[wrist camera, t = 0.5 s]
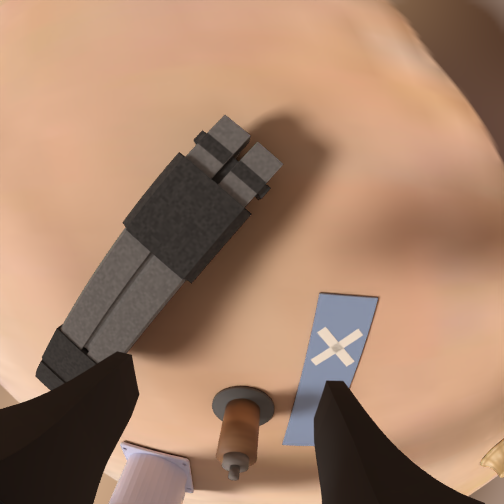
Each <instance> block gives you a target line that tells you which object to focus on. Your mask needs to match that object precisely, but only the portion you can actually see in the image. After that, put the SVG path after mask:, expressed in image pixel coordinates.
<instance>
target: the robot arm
mask: <svg viewBox="0 0 504 504" xmlns="http://www.w3.org/2000/svg"><path fill="white" fill-rule="evenodd" d="M138 397H139V391H138V386H137V381H136V376H135V370H134V365H133V359H132V355H130V354H126V353H122V352H118V351H117V352H115V353H113V354H112V355H110V356H108V357H107V358H105V359H104V360H102V361H101V362H99V363H97V364H96V365H94V366H93V367H91V368H90V369H88V370H86V371H85V372H83V373H81V374H80V375H78V376H77V377H75V378H73V379H72V380H70V381H68V382H66V383H64V384H62V385H61V386H59V387H57V388H55V389H53V390H51V391H49V392H47V393H45V394H43V395H41V396H38V397H36V398H33V399H31V400H28V401H26V402H23V403H20V404H16V405H13V406H10V407H6V408H3V409H0V504H93V503H94V499H95V496H96V492H97V489H98V486H99V483H100V480H101V477H102V474H103V471H104V469H105V466H106V464H107V462H108V460H109V458H110V456H111V454H112V452H113V450H114V448H115V446H116V444H117V443H118V441H119V439H120V437H121V435H122V433H123V431H124V429H125V428H126V426H127V424H128V422H129V420H130V418H131V416H132V413H133V411H134V408H135V405H136V402H137V399H138ZM120 445H121V448H122V450H123V453H124V455H125V457H126V459H127V462H126V465H125V467H124V469H123V471H122V474H121V476H120V478H119V481H118V483H117V485H116V487H115V490H114V492H113V494H112V497H111V499H110V501H109V504H182V503H183V500H184V496H185V492H188V493H193V492H194V488H193V482H192V475H191V469H190V462H189V460H188V459H187V458H183V457H178V456H174V455H169V454H165V453H161V452H157V451H153V450H150V449H146V448H142V447H139V446H136V445H132V444H129V443H126V442H121V444H120ZM314 445H315V452H316V459H317V466H318V473H319V480H320V487H321V495H322V504H485V503H483V502H481V501H478V500H475V499H473V498H471V497H468V496H466V495H463V494H461V493H459V492H457V491H455V490H453V489H452V488H450V487H448V486H446V485H444V484H443V483H441V482H440V481H438V480H436V479H435V478H433V477H432V476H431V475H429V474H428V473H426V472H425V471H424V470H422V469H421V468H420V467H418V466H417V465H416V464H414V463H413V462H412V461H411V460H410V459H409V458H408V457H407V456H405V455H404V454H403V453H402V452H401V451H400V450H399V449H398V448H397V447H396V446H395V445H394V444H393V443H392V442H391V441H390V440H389V439H388V438H387V437H386V435H385V434H384V433H383V432H382V431H381V430H380V429H379V427H378V426H377V425H376V424H375V422H374V421H373V420H372V419H371V417H370V416H369V415H368V414H367V412H366V411H365V410H364V408H363V407H362V406H361V404H360V403H359V402H358V400H357V399H356V397H355V396H354V395H353V393H352V392H351V390H350V389H349V388H348V386H347V385H346V384H345V382H344V381H329V380H326V383H325V386H324V389H323V392H322V396H321V399H320V401H319V404H318V407H317V410H316V413H315V416H314Z"/></svg>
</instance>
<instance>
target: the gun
mask: <svg viewBox="0 0 504 504" xmlns="http://www.w3.org/2000/svg"><path fill="white" fill-rule="evenodd" d="M249 140H250V135H249V134H248V133H247V132H246V131H244V130H243V129H242V128H241V127H240V126H238V125H237V124H236V123H235V122H233V121H232V120H231V119H230V118H229V117H227V116H226V115H224V116H223V117H222V118H221V119H220V120H219V121H218V122H217V123H216V124H215V125H214V126H213V127H212V129H211V130H210V131H209V132H208V133H205V132H204V131H203V130H202V131H201V132H200V133H199V135H198V136H197V137H196V138H195V139H194V142H195V144H196V146H195V147H194V148H193V149H192V150H191V151H190V152H189V154H188V155H187V156H186V157H185V156H183V155H182V154H181V153H180V152H179V153H178V154H177V155H176V156H175V158H174V159H173V160H172V161H171V162H170V163H169V165H168V166H167V167H166V168H165V169H164V170H163V172H162V173H161V174H160V175H159V176H158V178H157V179H156V180H155V181H154V183H153V184H152V185H151V186H150V188H149V189H148V190H147V191H146V193H145V194H144V195H143V196H142V198H141V199H140V200H139V201H138V203H137V204H136V205H135V207H134V208H133V209H132V211H131V212H130V213H129V215H128V216H127V217H126V219H125V220H124V221H123V224H124V225H125V227H126V228H125V229H124V230H123V232H122V233H121V235H120V236H119V237H118V239H117V240H116V242H115V243H114V244H113V246H112V247H111V249H110V250H109V252H108V253H107V254H106V256H105V257H104V259H103V260H102V262H101V263H100V265H99V266H98V268H97V269H96V271H95V272H94V274H93V275H92V277H91V279H90V280H89V282H88V283H87V285H86V286H85V288H84V290H83V291H82V293H81V294H80V296H79V298H78V299H77V301H76V303H75V304H74V306H73V308H72V309H71V311H70V313H69V315H68V316H67V318H66V320H65V322H64V323H63V324H62V325H61V326H59V327H58V328H57V329H56V331H55V333H54V335H53V337H52V338H51V340H50V342H49V344H48V346H47V348H46V350H45V352H44V354H43V356H42V358H43V359H42V361H41V362H40V364H39V366H38V368H37V371H36V377H37V378H38V379H39V380H40V381H41V382H42V383H43V384H44V385H45V386H46V387H47V388H48V389H50V390H53V389H55V388H57V387H59V386H61V385H62V384H64V383H66V382H68V381H70V380H72V379H73V378H75V377H77V376H78V375H80V374H81V373H83V372H85V371H86V370H88V369H90V368H91V367H93V366H94V365H96V364H97V363H99V362H101V361H102V360H104V359H105V358H107V357H108V356H110V355H112V354H113V353H115V352H117V351H118V352H122V353H127V352H128V351H129V350H130V348H131V347H132V346H133V345H134V343H135V342H136V341H137V340H138V338H139V337H140V336H141V335H142V333H143V332H144V331H145V330H146V328H147V327H148V326H149V325H150V323H151V322H152V321H153V320H154V319H155V317H156V316H157V315H158V314H159V312H160V311H161V310H162V309H163V308H164V306H165V305H166V304H167V303H168V301H169V300H170V299H171V298H172V297H173V295H174V294H175V293H176V292H177V291H178V289H179V288H180V287H181V286H182V285H183V283H184V282H185V281H186V280H187V281H189V282H190V283H192V282H193V281H194V280H195V279H196V278H197V276H198V275H199V274H200V273H201V272H202V271H203V269H204V268H205V267H206V266H207V265H208V264H209V262H210V261H211V260H212V259H213V258H214V257H215V255H216V254H217V253H218V252H219V251H220V250H221V249H222V247H223V246H224V245H225V244H226V243H227V242H228V240H229V239H230V238H231V237H232V236H233V235H234V234H235V232H236V231H237V230H238V229H239V228H240V227H241V226H242V224H243V223H244V222H245V221H246V220H247V219H248V218H249V217H250V215H251V213H250V212H249V211H247V210H246V209H245V207H246V205H247V204H248V203H249V202H250V201H251V200H252V199H253V198H254V197H256V198H257V199H262V198H263V196H264V195H265V194H266V193H267V192H268V191H269V190H270V189H271V188H270V187H269V186H268V185H266V183H267V182H268V181H269V180H270V179H271V178H272V176H273V175H274V174H275V173H276V172H277V171H278V170H279V169H280V168H281V167H282V165H283V163H282V162H281V161H279V160H278V159H277V158H276V157H275V156H274V155H273V154H271V153H270V152H269V151H268V150H267V149H266V148H265V147H263V146H262V145H261V144H260V143H259V142H257V143H256V144H255V145H254V146H253V147H252V148H251V149H250V150H249V151H248V152H247V153H246V154H245V156H244V157H243V158H242V159H241V160H240V161H239V162H238V161H237V160H236V158H237V157H238V156H239V154H240V152H241V151H242V150H243V149H244V148H245V147H246V145H247V144H248V143H249Z"/></svg>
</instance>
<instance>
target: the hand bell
mask: <svg viewBox="0 0 504 504" xmlns="http://www.w3.org/2000/svg"><path fill="white" fill-rule="evenodd" d="M480 465H481V466H484V467H490V468H492V469H493V470H494V471H495V472H496V473H497V474H498V475H499V477H500V478H503V477H504V439H503V440H502V441H501V442H499V443H498V444H497V445H496V446H495V447H493V448H492V449H491V450H490V451H489V452H488V453H487V454H486V455H485V457H484V458H483V459H482V461H481V463H480Z"/></svg>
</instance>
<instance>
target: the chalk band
mask: <svg viewBox="0 0 504 504" xmlns="http://www.w3.org/2000/svg"><path fill="white" fill-rule="evenodd" d="M377 301H378V298H377V297H364V296H351V295H339V294H327V293H319V298H318V303H317V308H316V313H315V318H314V323H313V328H312V332H311V337H310V341H309V346H308V350H307V354H306V359H305V363H304V367H303V371H302V375H301V379H300V383H299V387H298V391H297V394H296V398H295V402H294V406H293V409H292V413H291V416H290V420H289V423H288V427H287V430H286V434H285V437H284V440H283V444H282V445H295V446H315V445H314V416H315V413H316V410H317V407H318V404H319V401H320V399H321V396H322V392H323V389H324V386H325V383H326V380H329V381H344V382H345V384H346V385H347V386H348V388H349V387H350V384H351V381H352V379H353V376H354V373H355V371H356V368H357V365H358V362H359V359H360V356H361V353H362V350H363V347H364V344H365V341H366V338H367V335H368V332H369V328H370V325H371V322H372V318H373V315H374V311H375V308H376V304H377Z"/></svg>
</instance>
